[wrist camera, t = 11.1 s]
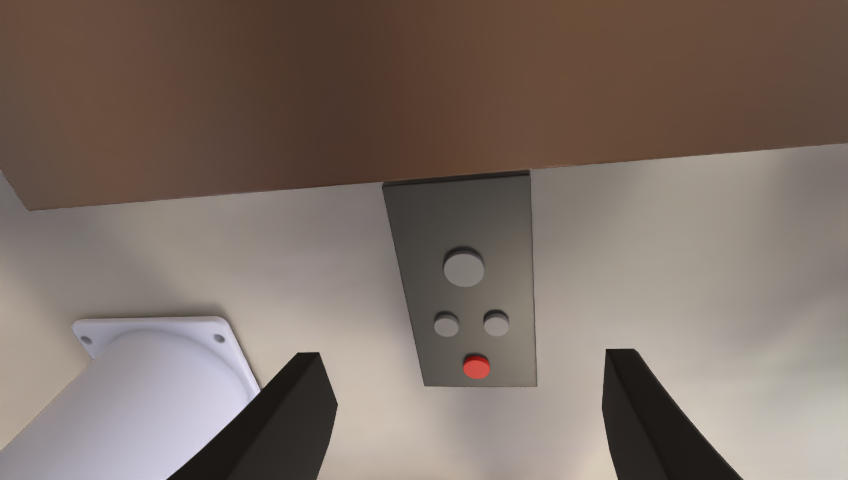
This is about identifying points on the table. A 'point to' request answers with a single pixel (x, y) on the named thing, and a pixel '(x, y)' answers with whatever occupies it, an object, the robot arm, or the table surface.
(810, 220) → the table surface
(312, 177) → the cabinet
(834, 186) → the table surface
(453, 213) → the remote
